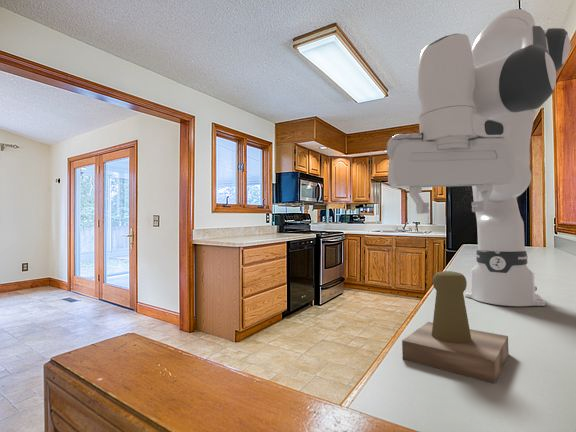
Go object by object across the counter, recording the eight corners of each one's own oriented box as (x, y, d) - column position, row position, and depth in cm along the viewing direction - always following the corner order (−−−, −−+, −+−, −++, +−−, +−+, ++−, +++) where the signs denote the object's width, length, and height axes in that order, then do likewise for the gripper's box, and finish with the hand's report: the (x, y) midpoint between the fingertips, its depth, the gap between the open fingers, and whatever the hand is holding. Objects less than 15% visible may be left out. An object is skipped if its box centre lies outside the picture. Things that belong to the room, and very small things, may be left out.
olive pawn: (475, 345, 50) (472, 275, 51) (433, 341, 52) (431, 273, 53) (467, 333, 56) (465, 269, 56) (430, 329, 58) (428, 268, 58)
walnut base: (428, 337, 63) (428, 321, 63) (508, 353, 54) (507, 336, 54) (402, 358, 53) (402, 340, 53) (495, 383, 44) (494, 361, 44)
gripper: (391, 128, 52) (394, 213, 52) (520, 124, 52) (524, 210, 51) (381, 139, 58) (384, 215, 58) (495, 135, 58) (499, 212, 57)
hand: (450, 212), depth 55 cm, fingers open, 8 cm apart
